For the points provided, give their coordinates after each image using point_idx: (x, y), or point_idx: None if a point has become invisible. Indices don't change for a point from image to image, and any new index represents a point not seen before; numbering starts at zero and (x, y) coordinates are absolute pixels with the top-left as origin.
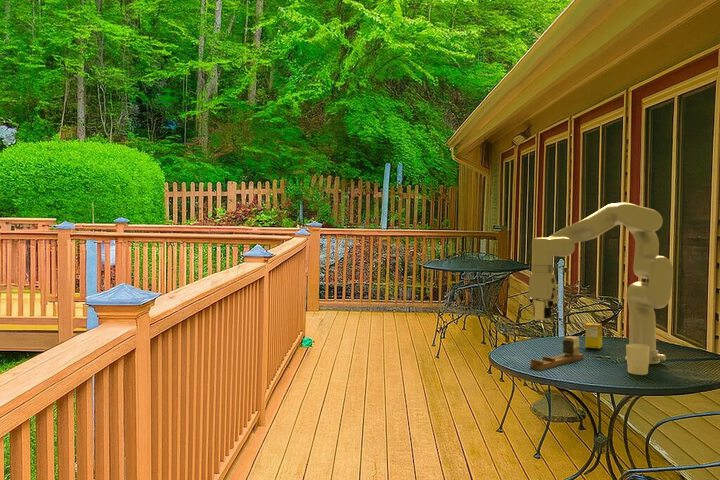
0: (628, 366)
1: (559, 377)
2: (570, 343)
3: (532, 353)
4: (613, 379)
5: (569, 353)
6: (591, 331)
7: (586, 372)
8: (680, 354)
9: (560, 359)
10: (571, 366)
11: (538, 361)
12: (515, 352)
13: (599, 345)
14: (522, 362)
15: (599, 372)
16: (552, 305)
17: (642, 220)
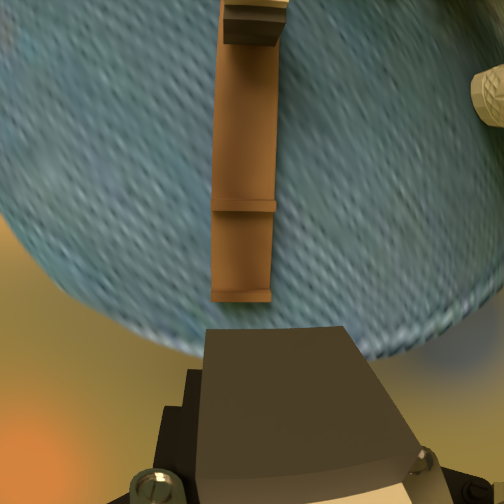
0: (490, 114)
1: (361, 327)
2: (273, 26)
3: (63, 58)
4: (476, 226)
5: (260, 45)
6: None
7: (400, 198)
8: None
9: (269, 144)
10: (317, 143)
11: (251, 301)
12: (13, 103)
13: None
14: (128, 232)
15: (427, 166)
16: (444, 475)
17: None
